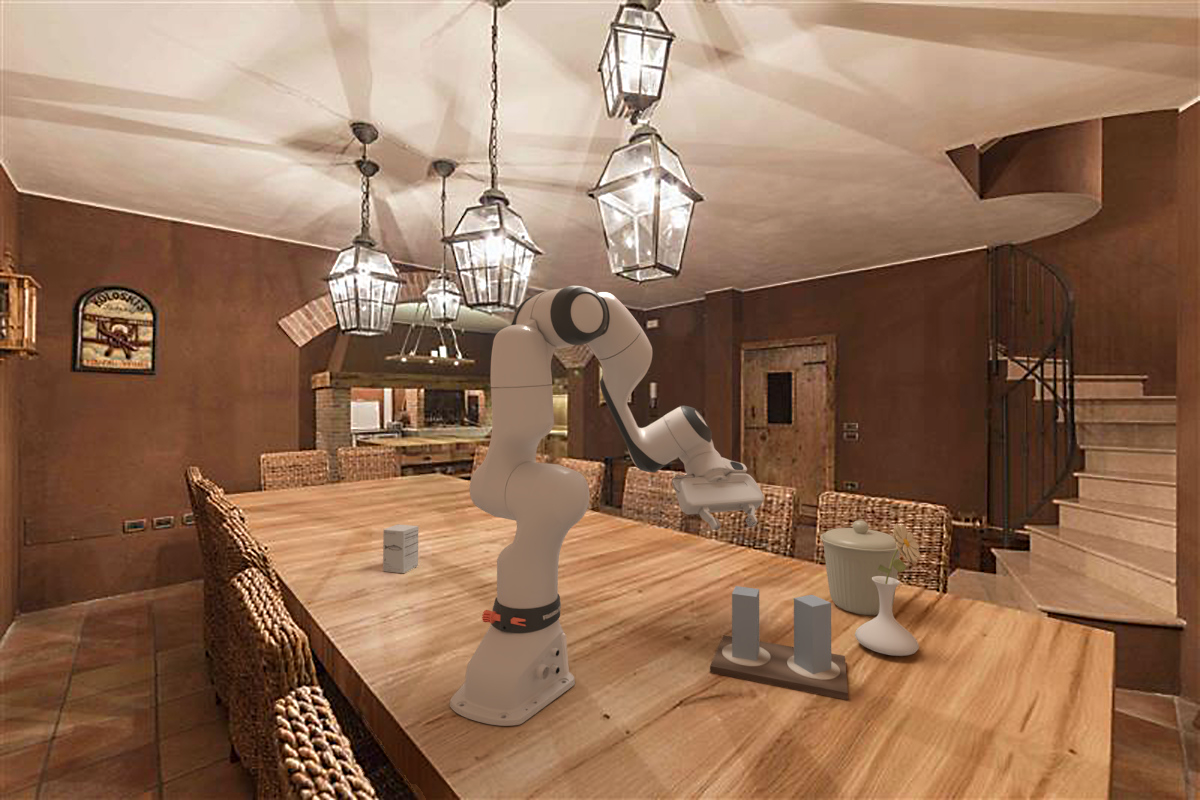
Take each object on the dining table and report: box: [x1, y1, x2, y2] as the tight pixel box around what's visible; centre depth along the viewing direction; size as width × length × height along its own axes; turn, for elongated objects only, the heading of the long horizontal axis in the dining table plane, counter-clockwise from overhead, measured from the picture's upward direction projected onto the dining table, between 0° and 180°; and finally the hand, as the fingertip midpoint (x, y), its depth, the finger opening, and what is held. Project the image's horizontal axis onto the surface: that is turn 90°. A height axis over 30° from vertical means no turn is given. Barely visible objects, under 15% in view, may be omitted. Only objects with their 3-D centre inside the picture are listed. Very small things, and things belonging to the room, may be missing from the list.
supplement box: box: [382, 523, 419, 574], centre depth 157 cm, size 7×7×13 cm
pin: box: [731, 585, 760, 661], centre depth 101 cm, size 4×4×12 cm
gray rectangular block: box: [793, 594, 832, 674], centre depth 96 cm, size 4×4×12 cm
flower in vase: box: [854, 523, 921, 657], centre depth 106 cm, size 13×11×25 cm
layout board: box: [709, 634, 849, 701], centre depth 99 cm, size 14×23×1 cm, turn 67°
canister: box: [819, 519, 901, 616], centre depth 127 cm, size 18×18×21 cm
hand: (735, 526), depth 110 cm, fingers open, 8 cm apart
